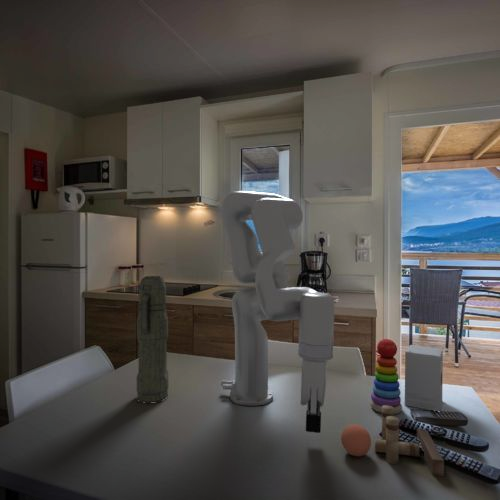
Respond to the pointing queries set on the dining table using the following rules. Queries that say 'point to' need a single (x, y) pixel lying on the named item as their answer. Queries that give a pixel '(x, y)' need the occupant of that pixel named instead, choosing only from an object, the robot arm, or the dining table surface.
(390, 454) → the pin
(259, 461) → the dining table surface
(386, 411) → the pin
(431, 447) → the wall
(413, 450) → the pin front
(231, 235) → the robot arm
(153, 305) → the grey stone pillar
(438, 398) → the supplement box
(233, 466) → the dining table surface
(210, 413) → the dining table surface
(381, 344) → the stacking toy
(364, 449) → the ball
